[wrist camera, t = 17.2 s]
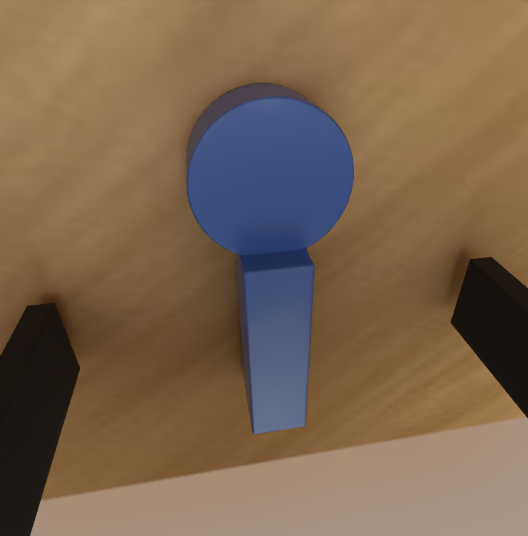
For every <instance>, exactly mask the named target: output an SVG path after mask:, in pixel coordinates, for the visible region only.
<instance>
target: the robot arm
mask: <svg viewBox="0 0 528 536" xmlns="http://www.w3.org/2000/svg"><path fill="white" fill-rule="evenodd" d="M451 324H452V325H453V326H454V327H455V329H456V330H457V331H458V332H459V334H460V335H461V336H462V337H463V339H464V340H465V341H466V342H467V344H468V345H469V346H470V347H471V349H472V350H473V351H474V352H475V354H476V355H477V356H478V357H479V358H480V360H481V361H482V362H483V363H484V365H485V366H486V367H487V368H488V370H489V371H490V372H491V373H492V375H493V376H494V377H495V378H496V380H497V381H498V382H499V383H500V384H501V386H502V387H503V388H504V389H505V391H506V392H507V393H508V394H509V396H510V397H511V398H512V399H513V401H514V402H515V403H516V404H517V406H518V407H519V408H520V409H521V411H522V412H523V413H524V414H525V415H526V417H527V418H528V288H527V287H526V286H525V285H523V284H522V283H521V282H520V281H519V280H518V279H516V278H515V277H514V276H513V275H512V274H511V273H509V272H508V271H507V270H506V269H505V268H503V267H502V266H501V265H500V264H499V263H498V262H496V261H495V260H494V259H493V258H492V257H487V258H478V259H470V261H469V264H468V267H467V270H466V274H465V277H464V280H463V283H462V287H461V290H460V293H459V297H458V300H457V303H456V306H455V310H454V313H453V316H452V319H451ZM79 370H80V367H79V364H78V361H77V359H76V356H75V354H74V351H73V349H72V346H71V343H70V341H69V338H68V336H67V333H66V331H65V328H64V325H63V323H62V320H61V318H60V315H59V313H58V310H57V308H56V305H55V303H50V304H40V305H31V306H27V307H26V309H25V311H24V313H23V315H22V317H21V319H20V320H19V322H18V324H17V326H16V328H15V330H14V332H13V334H12V335H11V337H10V339H9V341H8V343H7V345H6V347H5V349H4V350H3V352H2V354H1V356H0V536H30V534H31V531H32V527H33V524H34V521H35V517H36V514H37V511H38V507H39V504H40V501H41V497H42V494H43V491H44V487H45V484H46V481H47V477H48V474H49V471H50V467H51V464H52V461H53V457H54V454H55V451H56V447H57V444H58V441H59V437H60V434H61V430H62V427H63V424H64V420H65V417H66V414H67V410H68V407H69V404H70V400H71V397H72V394H73V390H74V387H75V384H76V380H77V377H78V374H79Z"/></svg>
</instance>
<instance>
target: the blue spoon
mask: <svg viewBox="0 0 528 536" xmlns="http://www.w3.org/2000/svg"><path fill="white" fill-rule="evenodd" d="M186 166H187V194H188V199H189V204H190V207H191V210H192V212H193V215H194V216H195V218H196V220H197V222H198V224H199V225H200V226H201V228H202V229H203V231H204V232H205V233H206V234H207V235H208V236H209V237H210V238H211V239H212V240H214V241H215V242H216V243H217V244H219V245H220V246H222V247H224V248H225V249H227V250H229V251H231V252H234V253H235V263H236V277H237V291H238V305H239V319H240V333H241V347H242V361H243V375H244V382H245V388H246V395H247V401H248V407H249V414H250V420H251V427H252V432H253V434H260V433H266V432H273V431H279V430H286V429H292V428H298V427H304V426H306V413H307V394H308V376H309V357H310V339H311V320H312V302H313V283H314V264H313V262H312V260H311V258H310V256H309V254H308V252H307V250H306V248H307V247H309V246H311V245H312V244H314V243H315V242H317V241H318V240H320V239H321V238H322V237H323V236H324V235H326V234H327V233H328V232H329V231H330V229H331V228H332V227H333V226H334V225H335V224H336V222H337V221H338V220H339V218H340V217H341V215H342V213H343V211H344V210H345V208H346V205H347V203H348V201H349V198H350V194H351V191H352V185H353V179H354V165H353V157H352V153H351V149H350V146H349V144H348V141H347V139H346V137H345V135H344V133H343V132H342V130H341V128H340V127H339V126H338V125H337V123H336V122H335V121H334V120H333V119H332V118H331V117H330V116H329V115H328V114H327V113H325V112H324V111H323V110H322V109H320V108H319V107H318V106H316V105H315V104H314V103H313V102H311V101H310V100H309V99H307V98H306V97H304V96H303V95H302V94H300V93H298V92H296V91H294V90H292V89H290V88H287V87H284V86H281V85H276V84H270V83H258V84H249V85H245V86H242V87H238V88H236V89H234V90H231V91H229V92H227V93H226V94H224V95H222V96H221V97H219V98H218V99H217V100H215V101H214V102H213V103H212V104H211V105H210V106H209V107H208V108H207V109H206V110H205V111H204V112H203V114H202V115H201V116H200V118H199V119H198V121H197V123H196V125H195V126H194V128H193V131H192V133H191V136H190V139H189V143H188V148H187V159H186Z"/></svg>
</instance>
